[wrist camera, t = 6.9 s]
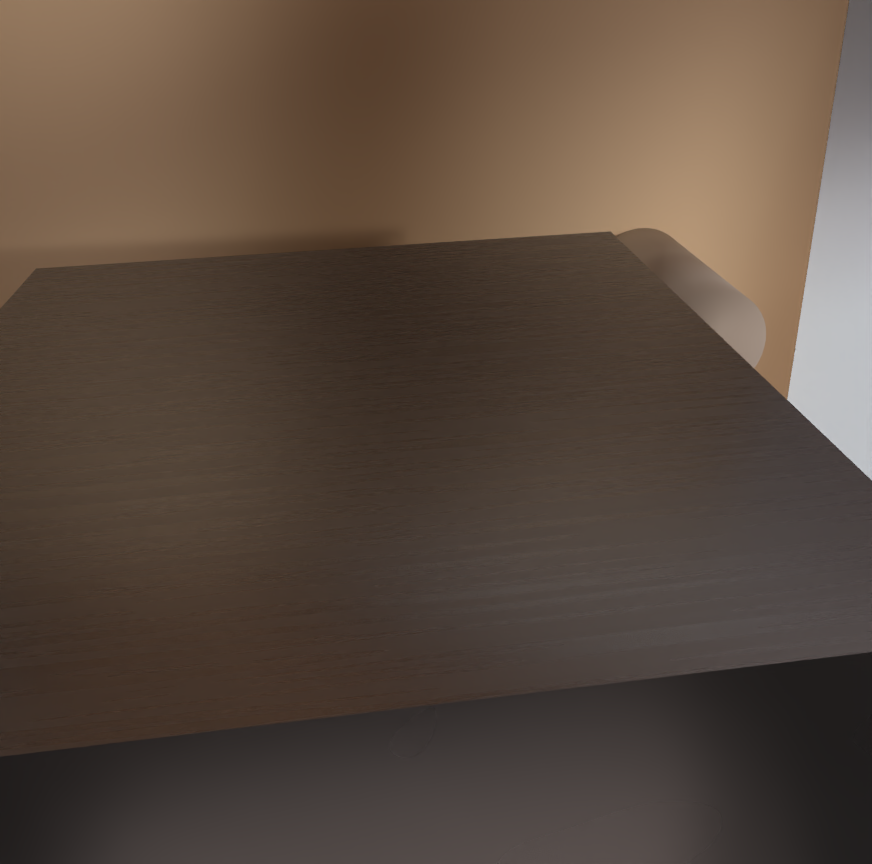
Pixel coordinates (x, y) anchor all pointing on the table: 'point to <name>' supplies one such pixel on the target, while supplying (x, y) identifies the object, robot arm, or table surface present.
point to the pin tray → (427, 135)
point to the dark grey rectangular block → (419, 570)
